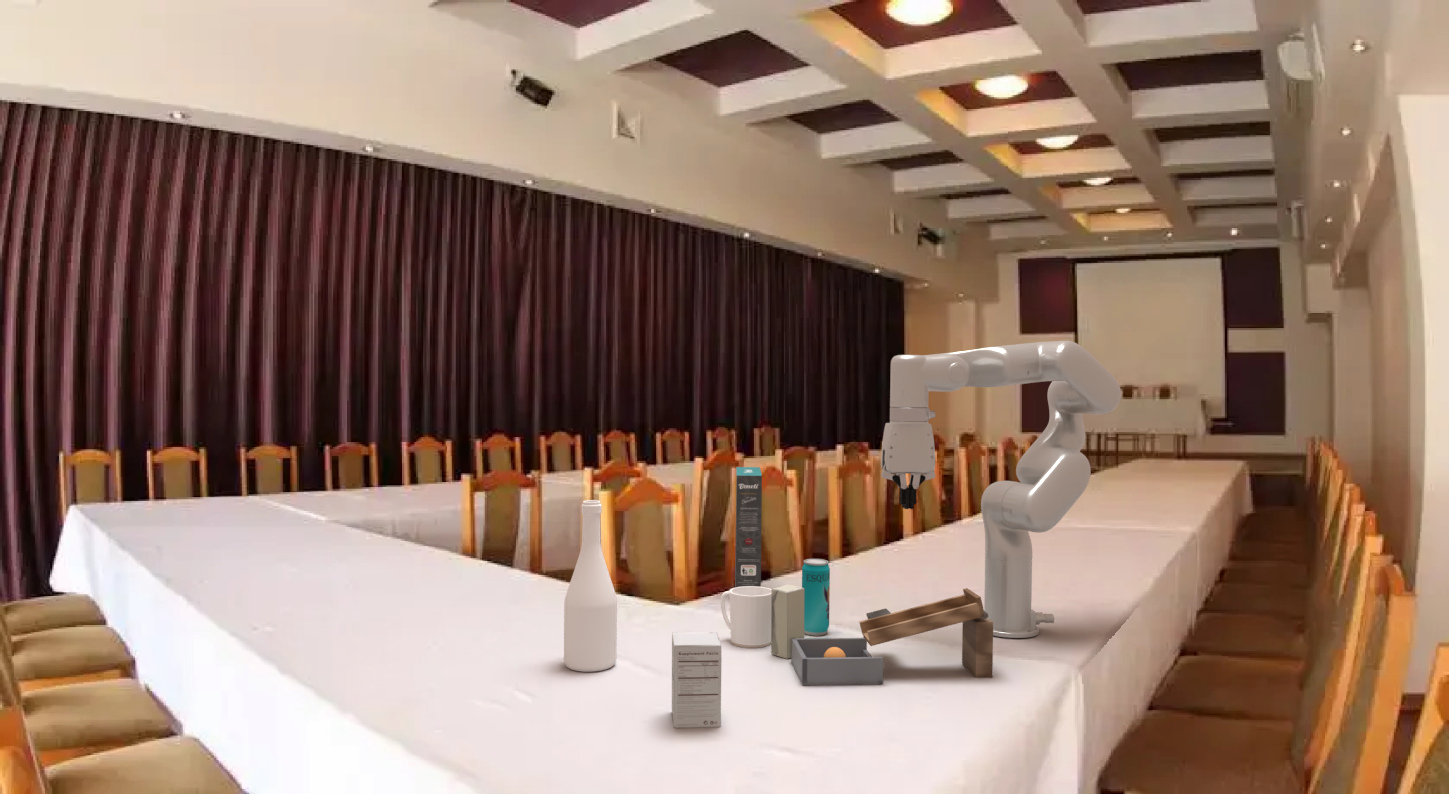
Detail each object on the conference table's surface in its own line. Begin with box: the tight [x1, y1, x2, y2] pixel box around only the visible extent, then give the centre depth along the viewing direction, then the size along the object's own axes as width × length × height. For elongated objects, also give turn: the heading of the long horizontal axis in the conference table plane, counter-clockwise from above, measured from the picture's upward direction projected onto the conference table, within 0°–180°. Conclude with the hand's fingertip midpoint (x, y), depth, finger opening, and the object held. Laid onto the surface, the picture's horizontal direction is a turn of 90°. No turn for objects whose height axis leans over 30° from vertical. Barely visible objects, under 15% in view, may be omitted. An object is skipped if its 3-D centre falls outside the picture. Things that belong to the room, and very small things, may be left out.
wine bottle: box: [563, 499, 618, 673], centre depth 168 cm, size 10×10×30 cm
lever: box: [858, 587, 988, 647], centre depth 171 cm, size 22×16×4 cm
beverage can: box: [801, 558, 831, 637], centre depth 192 cm, size 6×6×15 cm
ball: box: [824, 647, 846, 658], centre depth 165 cm, size 4×4×4 cm
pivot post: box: [961, 617, 994, 679], centre depth 168 cm, size 3×8×12 cm, turn 4°
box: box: [770, 584, 805, 660], centre depth 176 cm, size 5×4×13 cm
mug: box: [719, 586, 772, 649], centre depth 185 cm, size 11×9×10 cm
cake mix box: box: [734, 466, 763, 588], centre depth 229 cm, size 22×6×30 cm, turn 179°
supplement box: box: [671, 631, 723, 729], centre depth 142 cm, size 7×7×13 cm
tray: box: [790, 637, 884, 686], centre depth 165 cm, size 14×13×4 cm
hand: (907, 508), depth 185 cm, fingers closed
